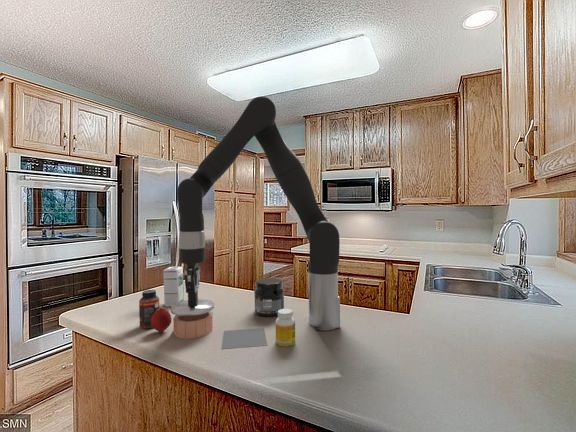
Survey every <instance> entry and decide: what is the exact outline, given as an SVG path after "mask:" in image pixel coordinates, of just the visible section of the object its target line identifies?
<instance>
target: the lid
mask: <svg viewBox="0 0 576 432" xmlns="http://www.w3.org/2000/svg"><path fill="white" fill-rule="evenodd" d="M196 290H197V292H196V305H195V306H189V305H188V299H186V300H184V301H182V302H178V303H176V304H174V305H172V306H170V314H173V315H174V316H175V315H179V316H194V315H200V314H204V313H207V312H209V311H211V312H212V311H213V310H214V309H215V302H214V301H212V300H209V299H203V298H202V299H201V298H199V296H198V294H199V293H198V291H199V288H196Z"/></svg>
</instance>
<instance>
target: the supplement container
mask: <svg viewBox="0 0 576 432" xmlns="http://www.w3.org/2000/svg"><path fill="white" fill-rule="evenodd" d="M254 284H255V289H254V290H253V295H254V314H255V316H257V317H260V318H276V317H278V310H280V309H285V289H284V288H283V286H284V285H283V284H284V283H283V280H282V279H280V278H275V277H265V278H260V279H257V280H256V281H255V283H254Z"/></svg>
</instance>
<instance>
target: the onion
mask: <svg viewBox="0 0 576 432" xmlns="http://www.w3.org/2000/svg"><path fill="white" fill-rule="evenodd" d="M171 324H172V315H171V312H169V310H167V309H165V308H163V307H162V306H161V305H159V307H158V310H157V311H156V312H155V313H154V314H153V315H152V317H151V325H152V327H153V328H152V329H154V330H155V331H157V332H159V333H164V332H165V331H166V330H168V328H169V327H170V325H171Z"/></svg>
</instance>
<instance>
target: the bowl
mask: <svg viewBox="0 0 576 432" xmlns="http://www.w3.org/2000/svg"><path fill="white" fill-rule="evenodd" d="M213 315H214V313H213V311H212V310H211V311H209V312H207V313H204V314H200V315H194V316H179V315H174V316H173V321H172V322H173V335H174V336H175V337H177V338H180V339H197V338H201V337H204V336H207V335H209V334H210V333H212V332H213V329H214V320H213V319H214V317H213Z"/></svg>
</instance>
